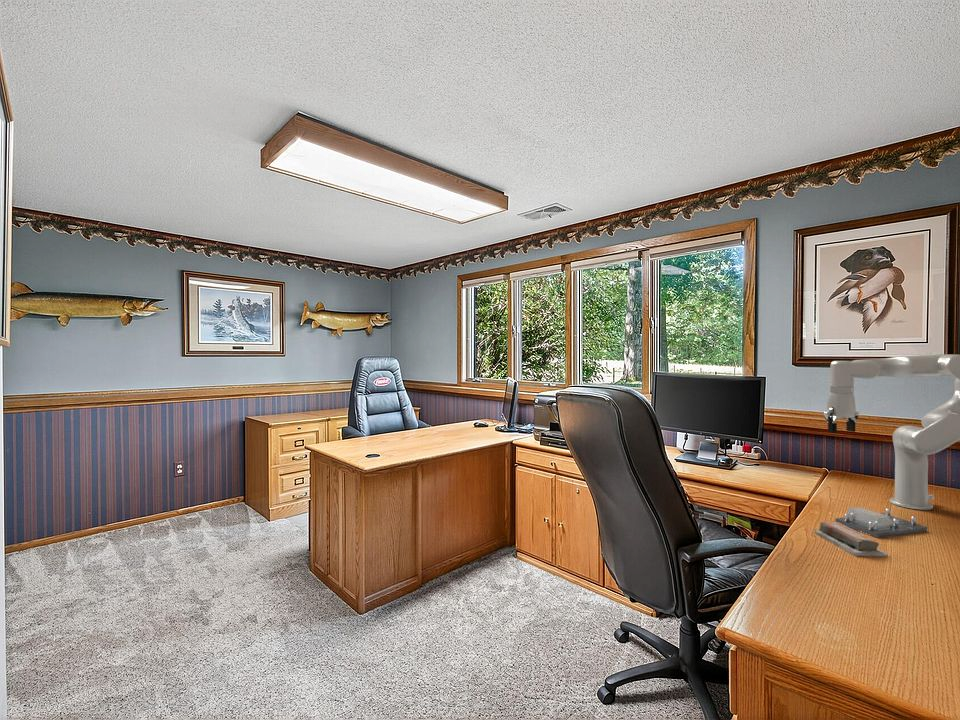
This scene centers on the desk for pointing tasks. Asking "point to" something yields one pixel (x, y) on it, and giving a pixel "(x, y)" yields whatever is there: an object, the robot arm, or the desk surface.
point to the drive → (868, 518)
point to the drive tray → (896, 528)
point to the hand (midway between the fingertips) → (841, 431)
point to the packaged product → (849, 539)
